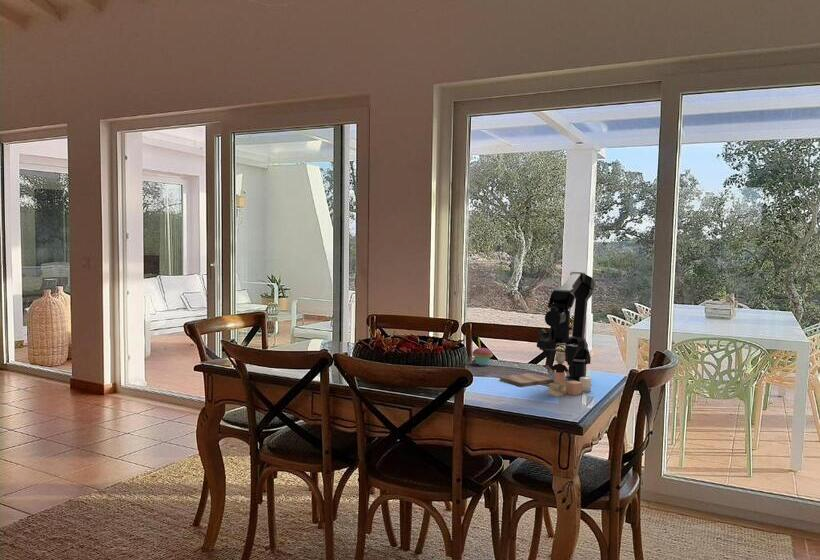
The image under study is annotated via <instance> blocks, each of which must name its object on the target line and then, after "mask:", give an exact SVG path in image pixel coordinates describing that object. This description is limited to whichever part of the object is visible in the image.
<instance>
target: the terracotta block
mask: <svg viewBox="0 0 820 560" xmlns="http://www.w3.org/2000/svg"><path fill="white" fill-rule="evenodd" d="M565 384H566V393H565V394H568V395H572V396H576V395H577V396H578V395H581V394H582V393H583V391H582V383H581V382H580V381H578V380H569V381H568V380H567V381H565Z"/></svg>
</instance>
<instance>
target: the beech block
mask: <svg viewBox="0 0 820 560" xmlns="http://www.w3.org/2000/svg"><path fill="white" fill-rule="evenodd" d="M566 394H567V393H566V383H565V384H563V383H559V382H555V381H553V382H550V383H548V395H549V396H550V395H551V396H554V397H556V398H557V397H563V396H566Z"/></svg>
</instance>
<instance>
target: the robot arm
mask: <svg viewBox="0 0 820 560" xmlns="http://www.w3.org/2000/svg"><path fill="white" fill-rule="evenodd" d="M595 286H596V282H595V280H594V279H593V277H592V276H589V275H588V274H586V273H585V272H583V271H578V270H577V271H575V270H573V271H570V274H569V276H568V278H567V279H566V280H565V281H564V283H563V284H562V285H559V286H556V287H555V288H554V289H553V291H551V294H550V297H549V301H548V304H547V308H548V309H550V310H548V311H547V312H546V314H545V316H544V321H545V324H547V325H548V326H549V327H550V329H549V330H548V329H547V330H546V328H540V329H538V333H537V336H538V338H539V339H538V340H537V341H536V348H538V349H539V350H541V351H542V352H543V353H544V355H545V358H546V361H547V364H548V367H549V368H550V369H551V368H552V366H553V365H554V362H555V359H556V353H557V349H555V348H557V347H559V346H560V347H561V346H564V347H565V349H564V357H565V362H566V363H567V366H568V371H569V374H570V376H569V377H568V376H567V374H565V378H569V379H572V380H575V381H580V377H588V376H587V365H590V364H591V363H592V362H591V359H592V357H591V353H590V351H589V345H588V343H587V340H586V338H585V333H586V332H585V331H586V324H587V323H586V321H587V312H588V303H589V300H590V299H591V297H592V295H593V294H594V290H595ZM573 306H574V310H573V311H574V313H573V324H572V326H570V321H571V308H573ZM570 331H572V335H571V336H570Z"/></svg>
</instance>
